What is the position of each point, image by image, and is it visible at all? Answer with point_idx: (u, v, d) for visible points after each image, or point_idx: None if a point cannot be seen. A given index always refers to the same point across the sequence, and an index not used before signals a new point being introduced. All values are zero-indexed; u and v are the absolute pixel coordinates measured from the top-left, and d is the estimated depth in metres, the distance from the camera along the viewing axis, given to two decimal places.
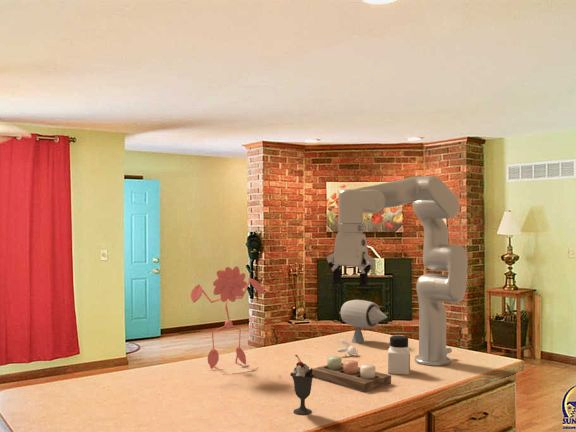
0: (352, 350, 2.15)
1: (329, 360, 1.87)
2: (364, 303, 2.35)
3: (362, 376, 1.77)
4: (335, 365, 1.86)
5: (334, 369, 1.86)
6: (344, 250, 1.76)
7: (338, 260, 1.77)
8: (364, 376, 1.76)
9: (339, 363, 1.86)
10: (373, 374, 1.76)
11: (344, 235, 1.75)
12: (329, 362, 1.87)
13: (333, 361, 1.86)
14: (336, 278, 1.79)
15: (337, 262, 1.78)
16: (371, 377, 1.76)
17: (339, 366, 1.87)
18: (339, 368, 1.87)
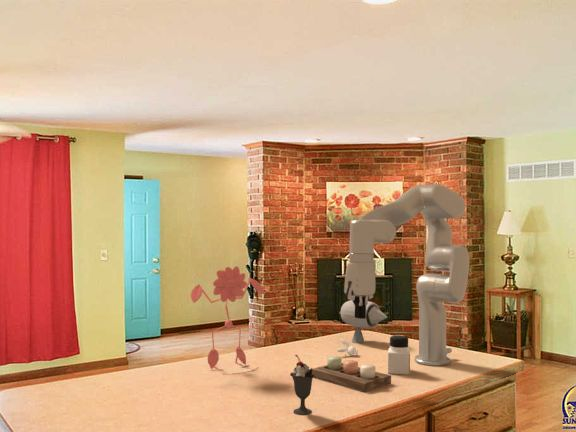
0: (352, 350, 2.15)
1: (329, 360, 1.87)
2: None
3: (362, 376, 1.77)
4: (335, 365, 1.86)
5: (334, 369, 1.86)
6: (366, 280, 1.77)
7: (359, 291, 1.76)
8: (364, 376, 1.76)
9: (339, 363, 1.86)
10: (373, 374, 1.76)
11: (366, 265, 1.77)
12: (329, 362, 1.87)
13: (333, 361, 1.86)
14: None
15: (358, 293, 1.76)
16: (371, 377, 1.76)
17: (339, 366, 1.87)
18: (339, 368, 1.87)
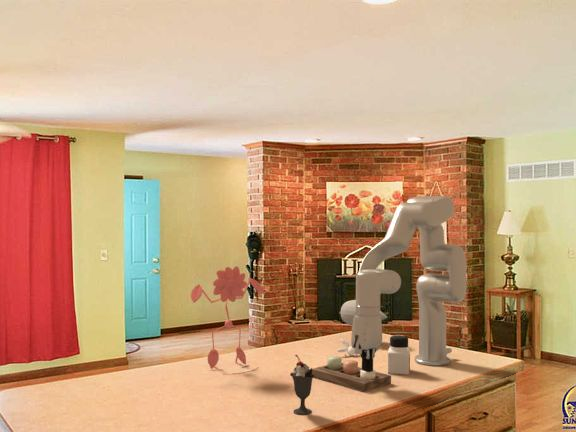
0: (352, 350, 2.15)
1: (329, 360, 1.87)
2: None
3: None
4: (335, 365, 1.86)
5: (334, 369, 1.86)
6: (373, 333, 1.76)
7: (367, 344, 1.74)
8: None
9: (339, 363, 1.86)
10: (373, 378, 1.76)
11: (373, 318, 1.76)
12: (329, 362, 1.87)
13: (333, 361, 1.86)
14: None
15: (365, 347, 1.74)
16: None
17: (339, 366, 1.87)
18: (339, 368, 1.87)
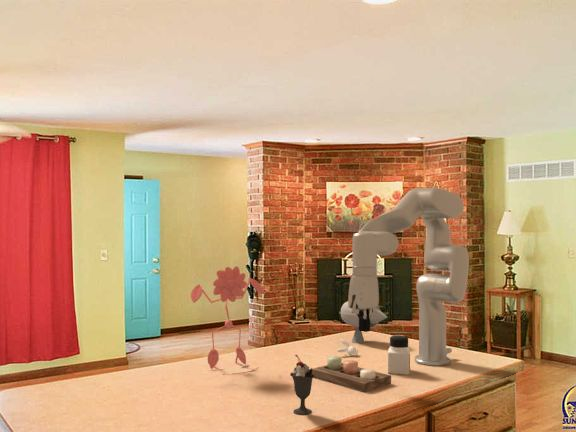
0: (352, 350, 2.15)
1: (329, 360, 1.87)
2: None
3: None
4: (335, 365, 1.86)
5: (334, 369, 1.86)
6: (370, 293, 1.77)
7: (364, 304, 1.75)
8: None
9: (339, 363, 1.86)
10: None
11: (370, 278, 1.77)
12: (329, 362, 1.87)
13: (333, 361, 1.86)
14: None
15: (362, 306, 1.75)
16: None
17: (339, 366, 1.87)
18: (339, 368, 1.87)
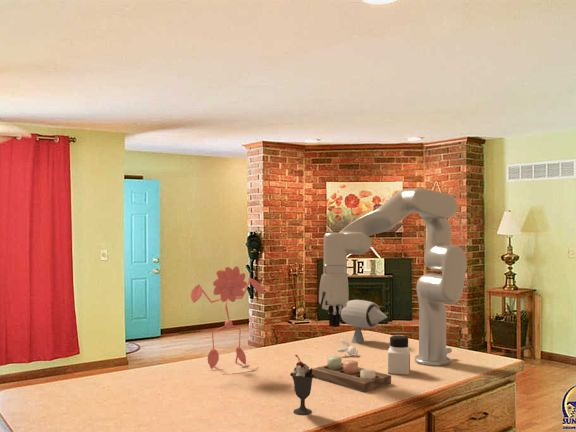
0: (352, 350, 2.15)
1: (329, 360, 1.87)
2: (364, 303, 2.35)
3: None
4: (335, 365, 1.86)
5: (334, 369, 1.86)
6: (339, 290, 1.86)
7: (333, 300, 1.85)
8: None
9: (339, 363, 1.86)
10: None
11: (339, 276, 1.86)
12: (329, 362, 1.87)
13: (333, 361, 1.86)
14: None
15: (332, 303, 1.84)
16: None
17: (339, 366, 1.87)
18: (339, 368, 1.87)
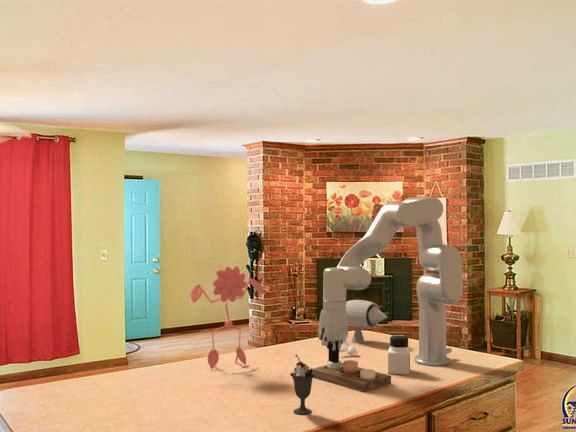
0: (352, 350, 2.15)
1: (329, 363, 1.87)
2: (364, 303, 2.35)
3: None
4: (335, 369, 1.86)
5: None
6: (338, 326, 1.86)
7: (332, 337, 1.85)
8: None
9: (339, 367, 1.86)
10: None
11: (339, 312, 1.86)
12: (329, 366, 1.87)
13: (333, 365, 1.86)
14: None
15: (331, 339, 1.84)
16: None
17: None
18: None
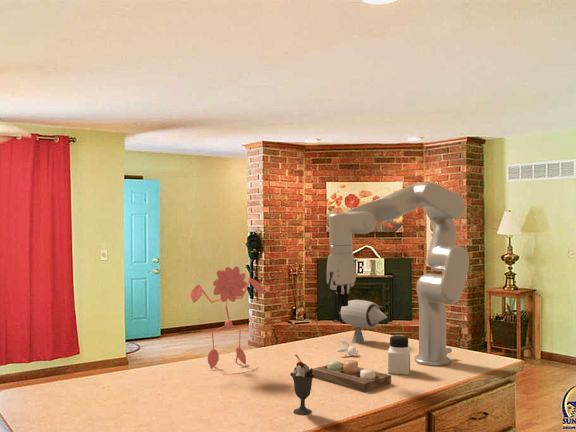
0: (352, 350, 2.15)
1: (329, 364, 1.87)
2: (364, 303, 2.35)
3: None
4: (335, 370, 1.86)
5: None
6: (346, 270, 1.88)
7: (341, 280, 1.86)
8: None
9: (339, 368, 1.86)
10: None
11: (346, 256, 1.88)
12: (329, 367, 1.87)
13: (333, 366, 1.86)
14: None
15: (340, 282, 1.86)
16: None
17: None
18: None
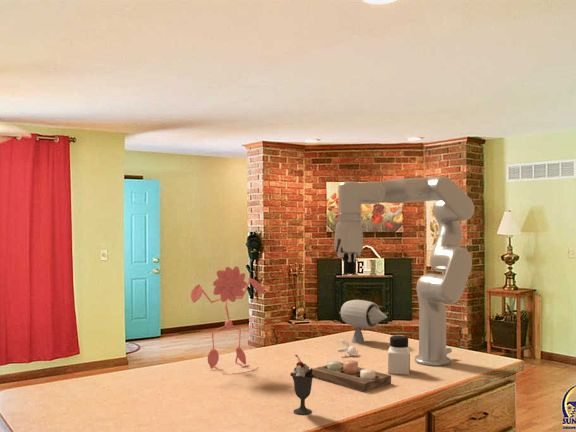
0: (352, 350, 2.15)
1: (329, 364, 1.87)
2: (364, 303, 2.35)
3: None
4: (335, 370, 1.86)
5: None
6: (354, 238, 1.90)
7: (348, 248, 1.88)
8: None
9: (339, 368, 1.86)
10: None
11: (354, 224, 1.89)
12: (329, 367, 1.87)
13: (333, 366, 1.86)
14: None
15: (347, 250, 1.88)
16: None
17: None
18: None
